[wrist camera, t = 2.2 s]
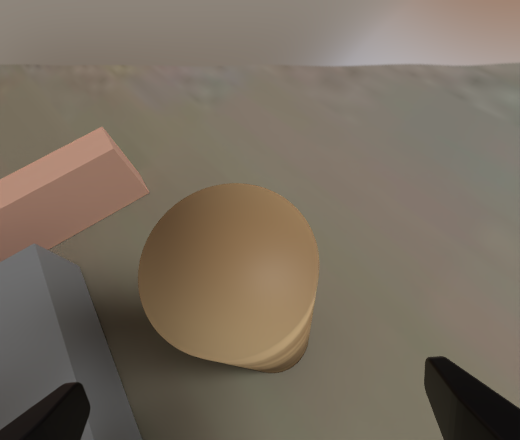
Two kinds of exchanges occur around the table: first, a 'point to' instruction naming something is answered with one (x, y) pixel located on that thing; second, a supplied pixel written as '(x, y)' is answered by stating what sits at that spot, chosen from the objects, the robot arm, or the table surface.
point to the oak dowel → (232, 277)
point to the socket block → (56, 344)
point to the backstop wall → (66, 193)
